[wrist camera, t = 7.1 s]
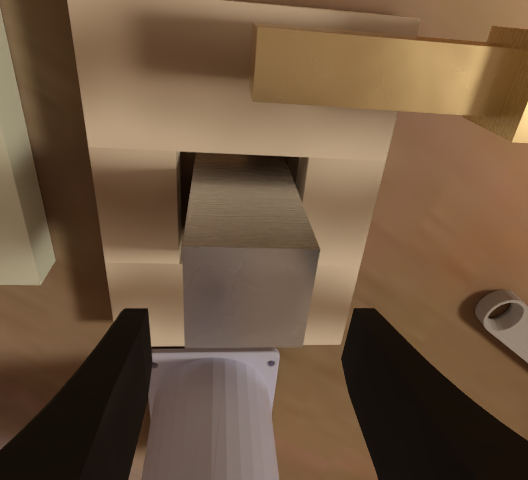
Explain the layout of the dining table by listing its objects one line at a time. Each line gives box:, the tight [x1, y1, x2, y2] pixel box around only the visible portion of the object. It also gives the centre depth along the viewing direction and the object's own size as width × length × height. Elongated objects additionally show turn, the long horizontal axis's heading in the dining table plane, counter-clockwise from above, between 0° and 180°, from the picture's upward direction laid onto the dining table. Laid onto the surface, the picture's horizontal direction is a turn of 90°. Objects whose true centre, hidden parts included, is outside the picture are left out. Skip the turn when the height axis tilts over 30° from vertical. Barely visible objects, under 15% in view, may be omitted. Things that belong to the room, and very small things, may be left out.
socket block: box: [67, 0, 420, 347], centre depth 19 cm, size 16×12×2 cm
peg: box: [182, 152, 320, 348], centre depth 16 cm, size 4×4×8 cm
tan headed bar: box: [249, 22, 528, 143], centre depth 13 cm, size 3×10×3 cm, turn 85°
